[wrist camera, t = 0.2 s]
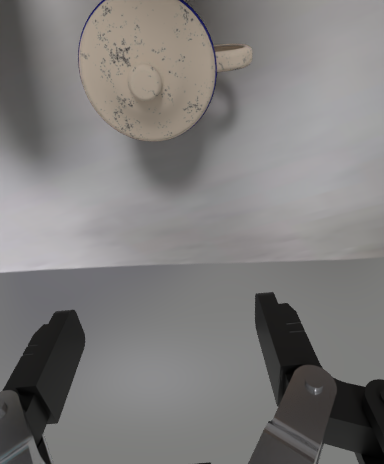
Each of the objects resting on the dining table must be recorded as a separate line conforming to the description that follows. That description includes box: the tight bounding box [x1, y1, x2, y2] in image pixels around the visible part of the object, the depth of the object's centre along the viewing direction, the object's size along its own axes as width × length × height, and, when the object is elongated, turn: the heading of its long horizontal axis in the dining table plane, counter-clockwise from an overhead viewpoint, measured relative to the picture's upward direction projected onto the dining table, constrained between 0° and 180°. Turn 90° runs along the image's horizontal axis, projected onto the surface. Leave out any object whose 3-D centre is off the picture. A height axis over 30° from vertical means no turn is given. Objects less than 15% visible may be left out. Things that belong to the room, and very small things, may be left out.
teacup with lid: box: [78, 0, 252, 141], centre depth 22 cm, size 12×9×12 cm
